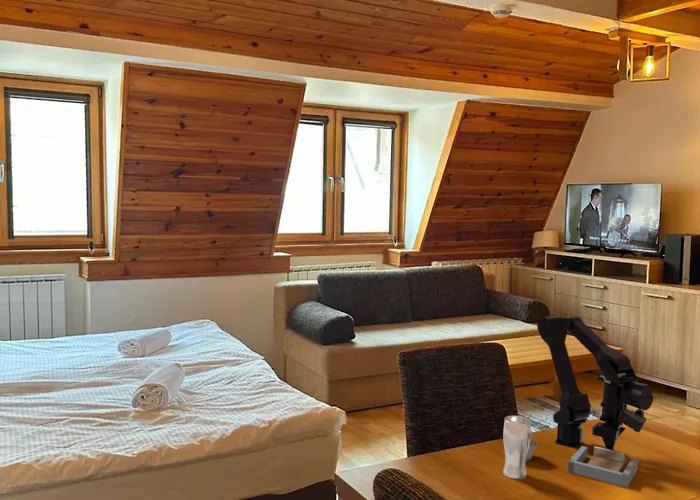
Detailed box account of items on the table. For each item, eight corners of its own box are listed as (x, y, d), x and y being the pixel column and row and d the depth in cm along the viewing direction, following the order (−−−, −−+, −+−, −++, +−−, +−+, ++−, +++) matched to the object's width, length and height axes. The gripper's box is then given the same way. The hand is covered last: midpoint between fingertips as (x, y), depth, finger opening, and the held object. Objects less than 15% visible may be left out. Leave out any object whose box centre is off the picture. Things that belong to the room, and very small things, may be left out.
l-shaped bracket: (584, 471, 170) (585, 457, 170) (594, 459, 178) (594, 446, 178) (616, 480, 166) (617, 465, 165) (624, 467, 174) (624, 453, 173)
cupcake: (521, 448, 185) (523, 415, 184) (543, 460, 177) (545, 426, 176) (496, 453, 181) (497, 419, 180) (517, 466, 173) (519, 430, 172)
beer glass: (513, 482, 163) (516, 426, 162) (496, 471, 169) (498, 417, 168) (533, 477, 166) (536, 422, 165) (515, 466, 172) (518, 413, 171)
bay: (567, 471, 170) (568, 461, 170) (581, 455, 181) (582, 445, 181) (627, 487, 161) (627, 476, 161) (637, 469, 172) (638, 459, 172)
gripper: (637, 414, 164) (633, 471, 165) (651, 397, 179) (647, 449, 180) (593, 405, 170) (589, 460, 172) (610, 389, 185) (607, 440, 187)
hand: (610, 452), depth 177 cm, fingers closed
